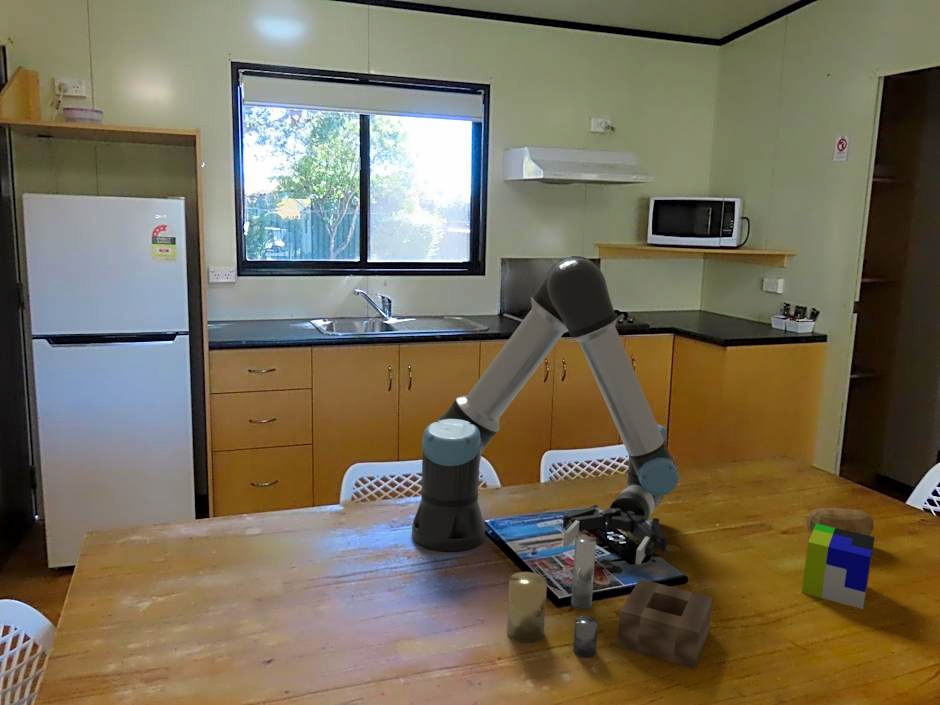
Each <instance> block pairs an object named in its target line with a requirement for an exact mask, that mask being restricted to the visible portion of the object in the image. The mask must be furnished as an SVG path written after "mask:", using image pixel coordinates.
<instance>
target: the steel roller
mask: <svg viewBox="0 0 940 705" xmlns="http://www.w3.org/2000/svg"><path fill="white" fill-rule="evenodd" d="M574 540H575V542H574V543H575V545H574V556H573V572H572V583H571V584H572V585H571V599H570V600H571V601H570V605H571V607H573V609H576V610H580V611H588V610H590V609H591V608H592V604H593V603H592V601H593V589H594V577H595V565H596V564H595V563H596V562H595V561H596V551H597V550H596V549H597V540H596V539H595V538H594V537H592V536H589V535H577V537H576V538H575V539H574Z"/></svg>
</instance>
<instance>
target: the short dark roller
mask: <svg viewBox="0 0 940 705" xmlns="http://www.w3.org/2000/svg"><path fill="white" fill-rule="evenodd" d="M598 629H599V621H598V620H597V619H596V618H595V617H593V616H591V615H579V616H577V617H575V620H574V629H573V630H574V632H573V647H572V648H573V649H572V651H573V653H574V655H576V656H578V657H580V658H584V659H587V658H589V659H591V658H593V657H594V656H596V654H597V645H598V644H597V643H598V642H597V641H598Z"/></svg>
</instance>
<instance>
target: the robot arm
mask: <svg viewBox="0 0 940 705" xmlns="http://www.w3.org/2000/svg"><path fill="white" fill-rule="evenodd" d="M530 302H531V309H530V311H529V312H528V313H527V314H526V315H525V317H524V318H523V320H522V321H521V322H520V323H519V326H518V327H517V328H516V329H515V331H514V332H513V333H512V335H511V336H510V337H509V339H508V340H507V342H506V343H505V344H504V345H503V347H502V348H501V349H500V351H499V352H498V353H497V355H496V356H495V358H494V359H493V360H492V362H491V363H490V364H489V365H488V367H487V368H486V369H485V371H484V372H483V374H482V375H481V376H480V378H479V379H478V381H477V382H476V383H475V385H474V386H473V387H472V388H471V390H470V391H469V393H468V394H467V395H461V396H457V397H456V398H455V400H454V402H453V403H452V404H451V405H450V407H449V408H448V409H447V410H446V411H445V412H444V413H443V414H441V416H440V417H439V418H438V420H437V421H436V422H435V421H434V422H432V423H430V424H428V425H427V427H426V428H425V429H424V430H423V437H422V440H421V450H422V458H421V459H422V460H421V461H422V464H421V467H422V468H421V496H420V502H419V505H418V507H417V510H416V512H415V516H414V518H413V521H412V525H411V538H412V540H413V541H414V542H415V543H416V544H417V545H419V546H421V547H424V548H426V549H430V550H433V551H434V550H435V551H441V552H461V551H466V550H471V549H473V548H476V547H477V546H478V547H479V545H481V544H482V543H483V542H484V540H485V537H486V525H485V521H484V518H483V515H482V512H481V511H482V510H481V508H480V505H479V484H480V483H479V480H480V465H481V460H482V455H483V452H484V450H485V449H486V448H487V447H488V446H489V444H490V443H491V441H492V439H494V437H495V436H496V434H497V433H498V432H499V431H500V421H499V420H500V417H501V416H502V415H503V414H504V412H506V410H507V409H508V407H510V405H511V403H512V402H513V401H514V400H515V398H516V397H517V396H518V394H519V393H520V391H522V389H523V388H524V386H525V384H527V382H528V381H529V380H530V378H531V377H532V376H533V375H534V373H535V372H536V371H537V369H538V368H539V367H540V365H541V364H542V363H543V361H544V360H545V358H546V357H547V356H548V355H549V353H550V352H551V351H552V350H553V348H554V346H556V344H557V343H558V341H559V340H560V339H561V337H562V336H563V335H564V334H565V333H568V334H569V336H570V338H571V340H573V341H577V342H578V343H579V345H580V347H581V350H582V352H583V354H584V357H585V359H586V361H587V364H588V366H589V368H590V370H591V373H592V375H593V377H594V379H595V382H596V384H597V385H598V389H599V390H600V391H599V392H600V393H601V395H602V397H603V399H604V402H605V404H606V406H607V407H606V408H607V409H608V411H609V414H610V415H611V418H612V419H613V420H612V421H613V423H614V424H615V428H616V429H617V432H618V434H619V436H620V438H621V440H622V443H623V445H624V447H625V450H626V452H627V454H628V467H627V474H626V476H627V478H626V486H625V488H624V489H623V490H622V491H621V492H620V493H619V494H618V496H617V497H616V498H615V499H614V500H613V501H612V503H611V504H610V506H609V507H608V508H607V509H604V510H601V509H599V505H598V504H592V505H591V506H590V507H587V508H584V509H580V510H577V511H573V512H570V513H565V514H564V515H562V516H563V520H562V528H563V529H564V532H563V547H567V548H568V547H569V546H570V545H571V543H572V542H573V541H574V540H576V537H578V536H579V534H580V532H584V531H588V530H589V531H591V530H595V529H602V530H603V531H607V530H611V529H612V530H619V531H622V532H625V533H629V535H631V536H632V537H633V538H635V537H636V538H637V539H638V540H639V541H640V542H641V543H640V544H639V546H638V547H637V549H636V551H635V552H636V553H635V564H636V565H641V563H642V562H643V560H644V558H646V555H647V556H651V555H652V554H653V553H654V552H655V551H656V550H657V549H658V550H659V551H660V552H661V553H662V552H663V553H665V552H666V551H667V546H668V538H667V536H666V534H665V532H664V531H663V529H662V527H661V525H660V519H659V518H658V517H654V518H652V519H650V520H649V518H650V517H651V515H652V514H653V512H654V511H655V510H656V508H657V507H658V506H659V505H660V504H661V502H662V500H663V499H664V496H666V495H669V494H670V493H672V492H673V491H674V490H675V489H676V487H677V486H678V483H679V480H680V478H679V477H680V476H679V471H678V466H677V465H676V463H675V462H674V460H673V459H672V456H671V453H670V450H669V449H668V446H667V441H668V439H667V429H666V427H664V426H663V425H661V424H658V422H657V421H656V418H655V416H654V414H653V411H652V409H651V407H650V405H649V404H650V403H648V400H647V398H646V395H645V393H644V390H643V388H642V386H641V384H640V381H639V379H638V376H637V374H636V372H635V370H634V368H633V365H632V362H631V360H630V358H629V356H628V353H627V351H626V349H625V347H624V344H623V341H622V340H621V337H620V335H619V334H620V333H619V332H618V330H617V327H616V325H617V322H618V316H617V315H616V314H617V313H616V312H615V309H614V307H613V304H612V300H611V297H610V292H609V288H608V285H607V281H606V277H605V275H604V274H603V272H602V270H601V269H600V268H599V266H598V265H596V264H595V263H594V262H593V261H592V260H590V259H589V258H587V257H585V256H581V255H568V256H565V257H562V258H561V259H559V260H557V261H555V262H554V264H552V266H551V267H550V268H549V269H548V272H547V274H546V277H545V278H544V279H543V281H542V282H541V283H540V285H539V286H538V288H537V289H536V290H535V292H534V293H533V295H532V296H531V297H530Z"/></svg>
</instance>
